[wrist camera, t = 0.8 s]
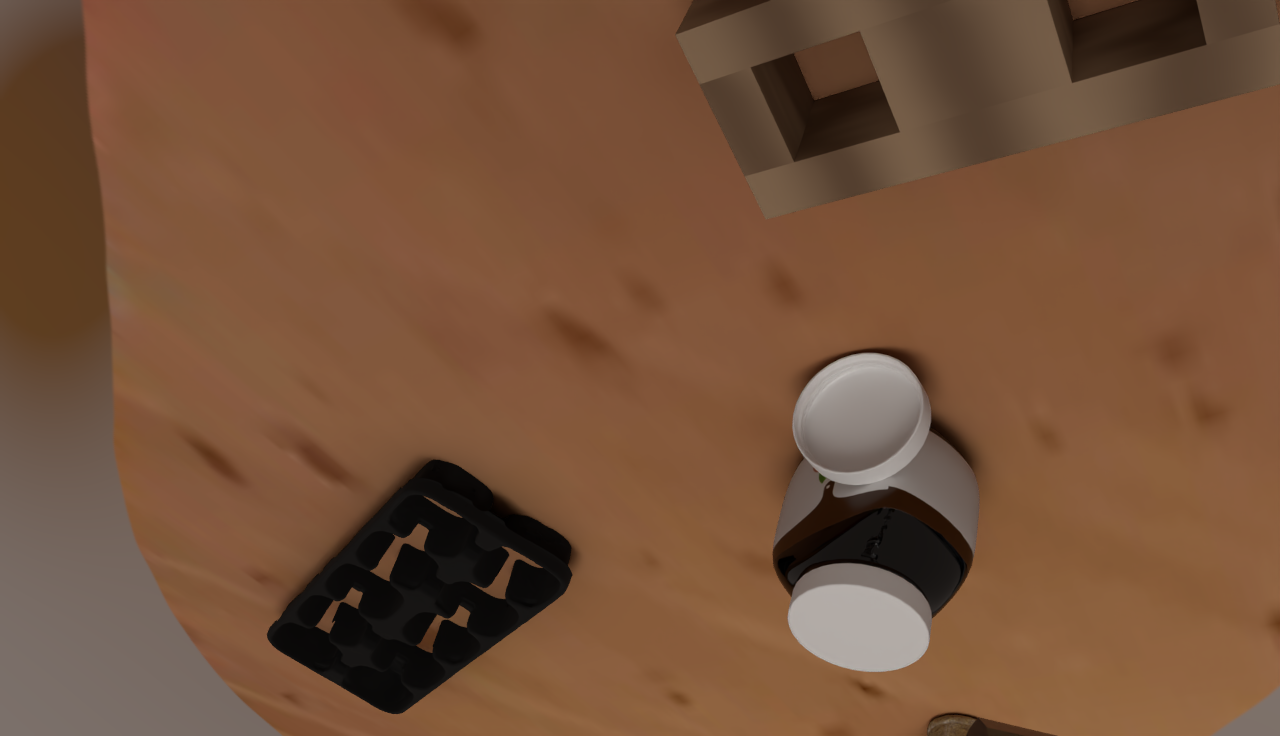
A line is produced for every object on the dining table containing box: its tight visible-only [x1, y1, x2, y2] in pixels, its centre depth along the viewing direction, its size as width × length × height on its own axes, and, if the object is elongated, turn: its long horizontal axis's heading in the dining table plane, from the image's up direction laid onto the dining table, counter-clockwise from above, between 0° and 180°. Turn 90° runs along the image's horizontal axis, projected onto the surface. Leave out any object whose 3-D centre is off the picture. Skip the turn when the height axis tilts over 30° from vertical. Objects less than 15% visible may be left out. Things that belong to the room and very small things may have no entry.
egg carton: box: [267, 460, 572, 714], centre depth 85 cm, size 18×30×4 cm, turn 157°
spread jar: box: [773, 353, 980, 672], centre depth 60 cm, size 12×11×12 cm
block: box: [675, 0, 1280, 219], centre depth 45 cm, size 20×9×5 cm, turn 117°
